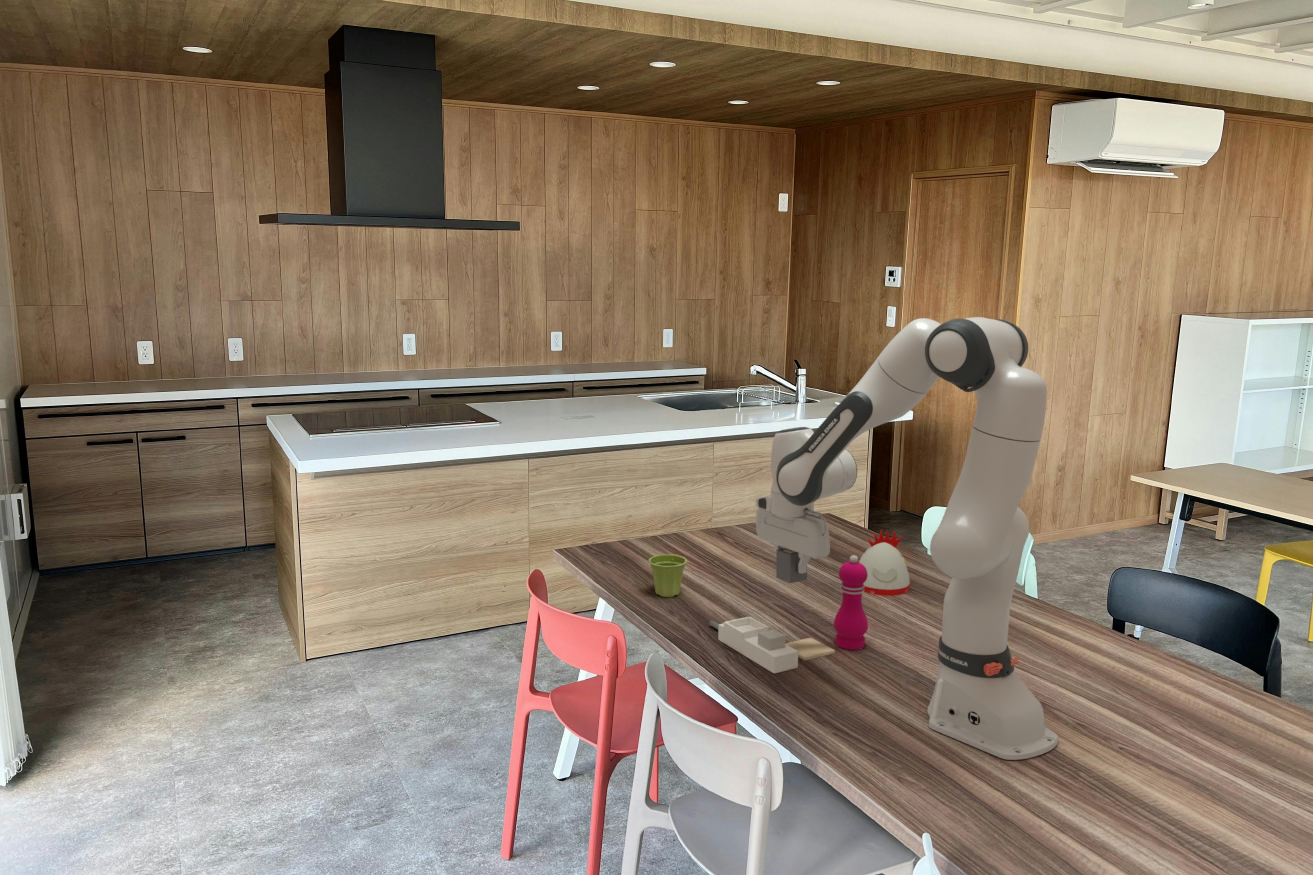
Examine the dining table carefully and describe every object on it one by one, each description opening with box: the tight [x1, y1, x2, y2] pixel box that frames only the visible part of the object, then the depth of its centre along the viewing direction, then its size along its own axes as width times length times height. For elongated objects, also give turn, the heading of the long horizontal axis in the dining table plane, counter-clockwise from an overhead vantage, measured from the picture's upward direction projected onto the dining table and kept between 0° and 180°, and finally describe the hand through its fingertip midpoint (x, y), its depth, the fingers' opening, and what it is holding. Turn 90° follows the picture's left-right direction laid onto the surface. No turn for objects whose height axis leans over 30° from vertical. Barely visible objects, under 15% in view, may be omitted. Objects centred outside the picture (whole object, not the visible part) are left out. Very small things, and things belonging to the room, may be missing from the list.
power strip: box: [709, 616, 799, 674], centre depth 196 cm, size 28×7×6 cm, turn 30°
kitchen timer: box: [858, 529, 911, 597], centre depth 235 cm, size 14×14×15 cm
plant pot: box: [648, 554, 688, 598], centre depth 229 cm, size 9×9×9 cm
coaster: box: [785, 637, 836, 661], centre depth 195 cm, size 8×8×1 cm
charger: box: [775, 548, 808, 584], centre depth 192 cm, size 4×4×6 cm
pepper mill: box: [833, 554, 869, 651], centre depth 197 cm, size 7×7×20 cm
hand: (791, 568), depth 192 cm, fingers closed on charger, 4 cm apart
